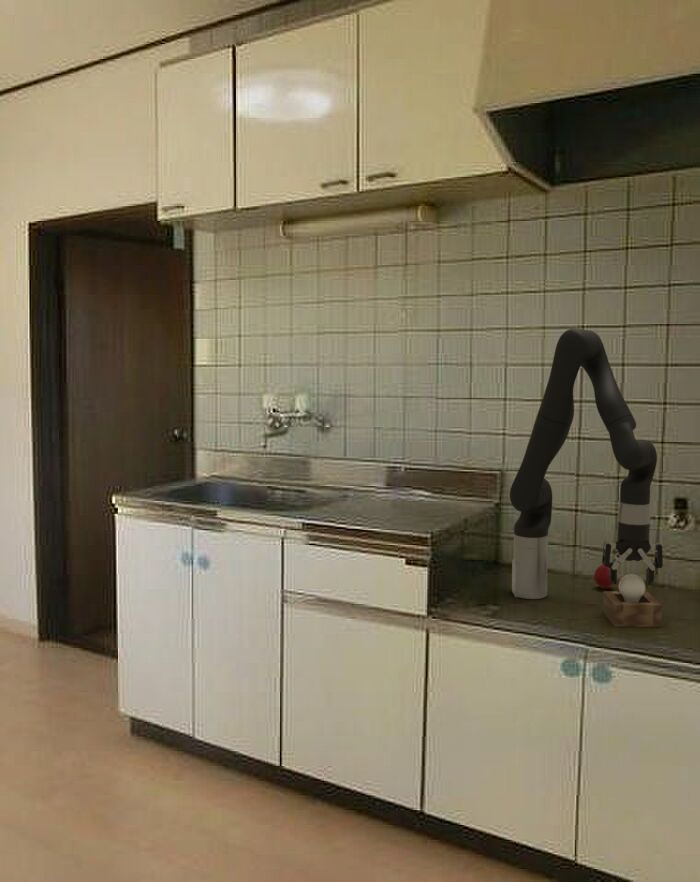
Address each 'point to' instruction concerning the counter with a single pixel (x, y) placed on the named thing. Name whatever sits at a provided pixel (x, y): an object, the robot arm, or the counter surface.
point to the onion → (602, 577)
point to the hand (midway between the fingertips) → (631, 583)
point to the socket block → (632, 610)
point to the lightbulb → (631, 588)
